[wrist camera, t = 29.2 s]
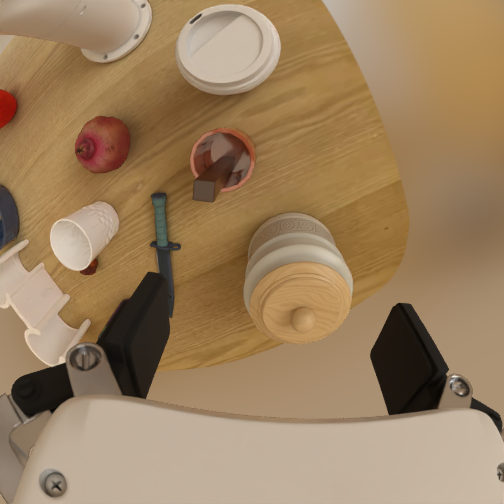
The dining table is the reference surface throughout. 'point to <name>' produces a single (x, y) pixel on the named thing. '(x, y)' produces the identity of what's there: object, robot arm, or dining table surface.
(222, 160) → the stick
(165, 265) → the knife
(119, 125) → the fruit
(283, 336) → the jar
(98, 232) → the white cup
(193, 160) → the holder
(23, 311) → the bracket
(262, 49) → the coffee cup
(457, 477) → the robot arm
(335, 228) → the dining table surface
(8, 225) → the bowl
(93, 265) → the meatball
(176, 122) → the dining table surface
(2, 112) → the apple
